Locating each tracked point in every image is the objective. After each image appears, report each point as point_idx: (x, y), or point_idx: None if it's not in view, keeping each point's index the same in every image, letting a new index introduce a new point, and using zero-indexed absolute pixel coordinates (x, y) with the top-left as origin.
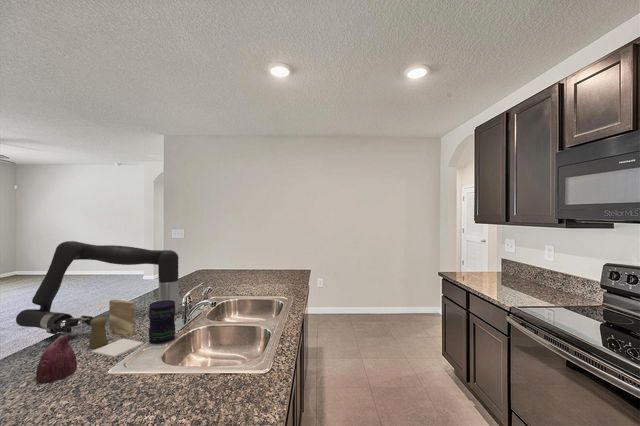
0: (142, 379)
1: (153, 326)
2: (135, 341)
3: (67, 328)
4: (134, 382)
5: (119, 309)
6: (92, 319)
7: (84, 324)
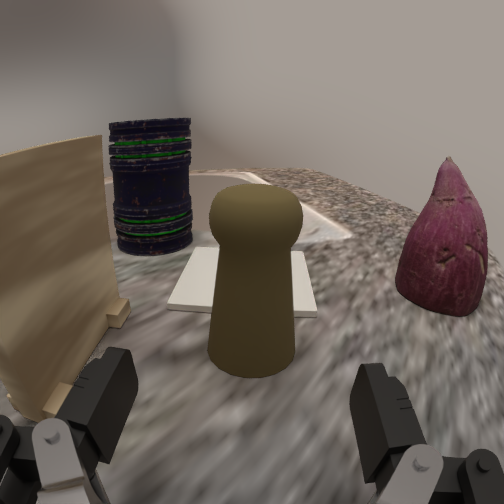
0: (330, 207)
1: (188, 185)
2: (190, 263)
3: (387, 388)
4: (342, 209)
5: (50, 204)
6: (282, 200)
7: (104, 490)
